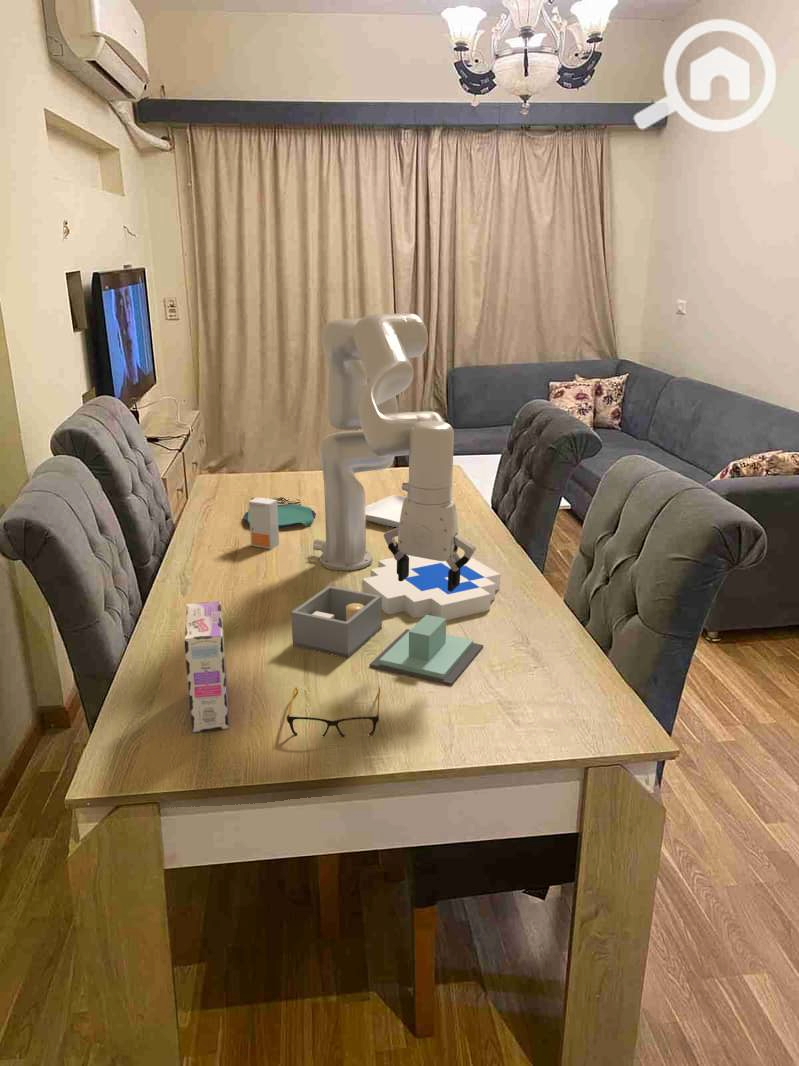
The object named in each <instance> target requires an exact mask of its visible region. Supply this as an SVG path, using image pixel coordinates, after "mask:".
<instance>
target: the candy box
mask: <svg viewBox="0 0 799 1066" xmlns="http://www.w3.org/2000/svg"><path fill="white" fill-rule="evenodd" d="M222 611H223V610H222V602H221V601H219V600H218V601H206V602H196V603H194V602H193V603H186V612H185V614H186V616H185V626H184V627H185V630H184V631H185V632H184V651H185V664H186V665H185V666H186V677H187V689H188V697H189V699H188V700H189V709H190V710H189V711H190V718H191V719H190V720H191V731H192V733H199V732H208V731H217V730H218V731H219V730H228V729H229V728H230V721H229V720H230V719H229V718H230V717H229V693H228V678H227V676H228V675H227V666H226V665H227V664H226V654H225V653H226V651H225V635H224V633H225V631H224V622H223V612H222ZM227 728H228V729H227Z"/></svg>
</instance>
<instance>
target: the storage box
mask: <svg viewBox="0 0 799 1066" xmlns="http://www.w3.org/2000/svg"><path fill="white" fill-rule="evenodd" d="M382 612H383V610H382V596H378V595H373V594H368V593H363V592H362V591H357V590H351V589H348V588H341V587H337V586H330V585H328V586H326V587H324V589H322V590H321V591H319V592H318V593H316V594H314V596H312V597H310V598H309V599H308V600H306V601H305V602H304V603H302V604H300V605H299V606H297V607H295V609H293V610H292V611H291V612H290V614H291V616H290V617H291V637H292V638H291V639H292V646H294V647H297V648H302V649H306V650H311V651H314V650H315V652H318V651H320V652H319V653H322V652H323V654H327V653H328V654H327V655H331V654H333V655H332V656H335V655H336V657H340V658H344V657H345V659H349V658H350V657H351V656H353V655H354V654H355V653H356V652H357V651H358V650H359V649H361V646H362V647H363V646H364V645H365V644H366V643H367V642H369V641H370V640H371V639H372V638H373V637H374V636H375V635H376V634H377V633H379V631H381V630H382V628H383V622H382V621H383V613H382ZM372 636H373V637H372ZM371 637H372V638H371ZM370 638H371V639H370ZM353 653H354V654H353ZM352 654H353V655H352Z"/></svg>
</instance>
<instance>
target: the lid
mask: <svg viewBox="0 0 799 1066" xmlns="http://www.w3.org/2000/svg"><path fill="white" fill-rule="evenodd" d="M473 643H474V639H470V638H468V637H461V636H456V635H452V634H447V620H446V618H441V617H436V616H433V615H431V614H430V615H426V616H423V617H422V618H421V619H420V620H419V621H418V622H417V623H416V624H415V625H414V626H413V627H411V628H410V629H409V631H408V632H407V633H406V634H405V635H404V636H403V637H402V638H401V639H400V640H399V641H398V642H397V643H396V644H395V645H394V646H393V647H392V648H391V649H390V650H389V651H388V652H387V653H386V654H385V655H384V656H383V657H381V658H380V659H379V661H380V665H384V666H389V667H393V668H397V669H402V670H406V671H410V672H415V673H419V674H423V675H428V676H432V677H436V678H441V679H445V678H446V676H447V675H448V674H449V673H450V672H451V671H452V669H453V668H454V667H455V666H456V665H457V663H458V662H459V661H460V660H461V659H462V657H463V656H464V655H465V654H466V653H467V651H468V650H469V649H470V648H471V647H472V645H473Z"/></svg>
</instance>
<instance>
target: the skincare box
mask: <svg viewBox="0 0 799 1066" xmlns="http://www.w3.org/2000/svg"><path fill="white" fill-rule="evenodd" d="M254 498H255V499H252V500H251V499H250V500H248V510H249V517H250V525H249V533H250V546H251V547H258V548H261V549H269V550H272V549H274V548H275V547H277V546H278V545H280V538H279V537H280V535H279V527H278V509H277V505H278V503H277V502H278V500H274V499H273V498H268V497H267V498H266V497H258V496H256V497H254Z"/></svg>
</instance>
